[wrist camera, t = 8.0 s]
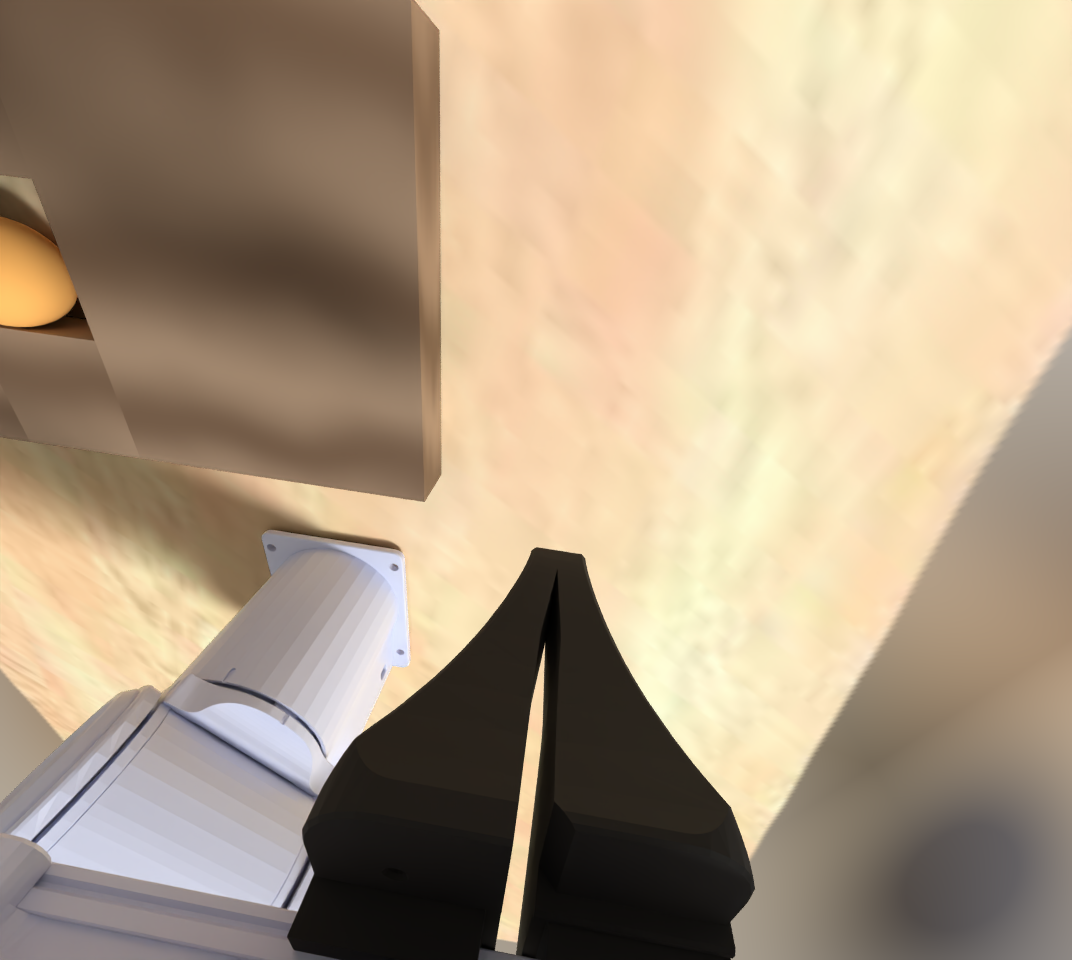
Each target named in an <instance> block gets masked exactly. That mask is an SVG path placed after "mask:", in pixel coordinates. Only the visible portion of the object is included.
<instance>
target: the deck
mask: <svg viewBox="0 0 1072 960" xmlns="http://www.w3.org/2000/svg"><path fill="white" fill-rule="evenodd" d="M0 175H6V176H14V177H22V178H30V179H32V180H33V183H34V185H35V188H36V190H37V193H38V195H39V198H40V201H41V203H42V206H43V208H44V211H45V214H46V216H47V219H48V221H49V224H50V226H51V229H52V232H53V234H54V237H55V239H56V242H57V245H58V247H59V250H60V252H61V255H62V257H63V260H64V263H65V265H66V268H67V270H68V273H69V276H70V278H71V281H72V283H73V286H74V288H75V291H76V294H77V296H78V299H79V301H80V304H81V307H82V309H83V312H84V314H85V317H86V319H87V320H86V319H79V318H71V317H64V316H63V317H62V318H60V319H58V320H56V321H54V322H52V323H49V324H45V325H41V326H34V327H14V326H5V325H1V324H0V437H3V438H9V439H16V440H23V441H29V442H36V443H42V444H49V445H55V446H62V447H68V448H75V449H82V450H88V451H95V452H101V453H108V454H114V455H121V456H127V457H134V458H140V459H147V460H154V461H160V462H167V463H173V464H180V465H186V466H193V467H199V468H206V469H213V470H219V471H226V472H232V473H239V474H245V475H252V476H258V477H265V478H271V479H278V480H285V481H291V482H298V483H304V484H311V485H317V486H324V487H330V488H337V489H344V490H350V491H357V492H363V493H370V494H376V495H383V496H389V497H396V498H403V499H409V500H416V501H422V502H425V500H426V499H427V497H428V495H429V494H430V492H431V490H432V489H433V487H434V486H435V484H436V482H437V481H438V479H439V477H440V476H441V310H440V88H439V30H438V28H437V27H436V26H435V25H434V24H433V22H432V21H431V20H430V19H429V17H428V16H427V15H426V14H425V13H424V11H423V10H422V9H421V8H420V7H419V5H418V4H417V3H416V2H415V0H0Z"/></svg>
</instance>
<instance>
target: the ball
mask: <svg viewBox="0 0 1072 960" xmlns="http://www.w3.org/2000/svg"><path fill="white" fill-rule="evenodd" d="M76 300H77V294H76V291H75V288H74V286H73V283H72V281H71V278H70V276H69V273H68V270H67V268H66V265H65V263H64V260H63V257H62V255H61V252H60V250H59V248H58V247H57V246H56V245H55V244H54V243H53V242H51V241H50V240H49V239H47V238H46V237H45V236H43V235H42V234H40V233H39V232H37V231H36V230H34V229H32V228H30V227H28V226H26V225H24V224H22V223H19V222H17V221H14V220H11V219H8V218H5V217H1V216H0V324H1V325H5V326H14V327H34V326H41V325H45V324H49V323H52V322H54V321H56V320H58V319H60V318H62V317H63V316H64V315H66V314H67V313H68V312H69V311H70V310H71V309H72V307H73V306H74V304H75V302H76Z"/></svg>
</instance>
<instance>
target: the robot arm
mask: <svg viewBox="0 0 1072 960" xmlns="http://www.w3.org/2000/svg"><path fill="white" fill-rule="evenodd" d="M262 542H263V546H264V550H265V554H266V558H267V562H268V565H269V569H270V573H271V577H270V578H269V579H268V580H267V581H266V583H265V584H264V585H263V586H262V587H261V588H260V589H259V590H258V591H257V592H256V593H255V595H254V596H253V597H252V598H251V599H250V600H249V601H248V602H247V603H246V604H245V605H244V607H243V608H242V609H241V610H240V611H239V612H238V613H237V614H236V615H235V616H234V617H233V619H232V620H231V621H230V622H229V623H228V624H227V625H226V626H225V627H224V628H223V629H222V631H221V632H220V633H219V634H218V635H217V636H216V637H215V638H214V639H213V640H212V641H211V643H210V644H209V645H208V646H207V647H206V648H205V649H204V650H203V651H202V652H201V653H200V655H199V656H198V657H197V658H196V659H195V660H194V661H193V662H192V663H191V664H190V665H189V667H188V668H187V669H186V670H185V671H184V672H183V673H182V674H181V675H180V676H179V677H178V679H177V680H176V681H175V682H174V683H173V684H172V685H171V686H170V687H169V688H167V689H166V690H164V691H163V692H162V693H161V692H160V691H158V690H157V689H156V688H154V687H153V686H151V685H146V686H143V687H141V688H140V689H133V690H128V691H124V692H120V693H119V694H117V695H116V696H115V697H113V698H112V699H111V700H110V701H108V702H107V703H106V704H105V705H104V706H103V707H101V708H100V709H99V710H98V711H97V712H96V713H95V714H93V715H92V716H91V717H90V718H89V719H88V720H87V721H86V722H85V723H83V724H82V725H81V726H80V727H79V728H78V729H77V730H76V731H75V732H74V733H73V734H72V735H70V736H69V737H68V738H67V739H66V740H65V741H64V742H63V743H62V744H61V745H60V746H59V747H58V748H57V749H56V750H54V751H53V752H52V753H51V754H50V755H49V756H48V757H47V758H46V759H45V760H44V761H43V762H42V763H41V764H40V765H39V766H38V767H37V768H36V769H35V770H33V771H32V772H31V773H30V774H29V775H28V776H27V777H26V778H25V779H24V780H23V781H22V782H21V783H20V784H19V785H18V786H17V787H16V788H15V789H14V790H13V791H12V792H11V793H10V794H9V795H8V796H7V797H6V798H5V799H4V800H3V801H2V802H1V803H0V960H731V959H730V958H733V957H734V956H735V944H734V939H733V934H732V928H731V924H730V922H731V920H732V919H733V918H734V917H735V916H736V915H737V914H738V913H739V911H740V910H741V909H742V908H743V907H744V906H745V905H746V904H747V902H748V901H749V899H750V897H751V895H752V893H753V891H754V890H755V886H754V880H753V875H752V870H751V866H750V861H749V858H748V854H747V851H746V848H745V845H744V842H743V839H742V836H741V833H740V831H739V828H738V825H737V823H736V820H735V817H734V815H733V812H732V810H731V807H730V806H729V805H728V804H727V803H726V801H725V800H724V799H723V798H722V797H721V796H720V794H719V793H718V792H717V791H716V790H715V789H714V788H713V786H712V785H711V784H710V783H709V782H708V781H707V779H706V778H705V777H704V776H703V775H702V773H701V772H700V771H699V770H698V769H697V767H696V766H695V765H694V764H693V763H692V761H691V760H690V759H689V757H688V756H687V755H686V753H685V752H684V751H683V750H682V748H681V747H680V746H679V744H678V743H677V742H676V741H675V739H674V738H673V737H672V735H671V734H670V732H669V731H668V729H667V728H666V727H665V725H664V724H663V722H662V721H661V719H660V718H659V716H658V715H657V714H656V712H655V711H654V709H653V708H652V706H651V705H650V704H649V702H648V701H647V699H646V697H645V696H644V694H643V693H642V691H641V689H640V688H639V686H638V684H637V683H636V681H635V680H634V678H633V676H632V674H631V673H630V671H629V669H628V667H627V665H626V664H625V662H624V660H623V658H622V656H621V654H620V652H619V650H618V648H617V646H616V644H615V642H614V640H613V638H612V636H611V634H610V632H609V629H608V627H607V625H606V622H605V620H604V618H603V615H602V613H601V610H600V607H599V605H598V602H597V600H596V597H595V594H594V591H593V588H592V585H591V582H590V578H589V575H588V571H587V566H586V561H585V558H584V557H583V555H582V554H576V553H569V552H563V551H557V550H550V549H544V548H537V547H536V548H535V549H533V550H532V551H531V554H530V557H529V559H528V561H527V564H526V566H525V567H524V569H523V571H522V573H521V575H520V576H519V578H518V580H517V581H516V583H515V584H514V586H513V587H512V589H511V590H510V592H509V593H508V595H507V596H506V598H505V599H504V601H503V602H502V604H501V605H500V606H499V607H498V609H497V610H496V611H495V613H494V614H493V615H492V617H491V618H490V619H489V620H488V622H487V623H486V624H485V625H484V627H483V628H482V629H481V630H480V631H479V632H478V634H477V635H476V636H475V637H474V638H473V639H472V640H471V641H470V642H469V643H468V645H467V646H466V647H465V648H464V649H463V650H462V651H461V652H460V653H459V654H458V655H457V656H456V657H455V658H454V659H453V660H452V661H451V662H450V663H449V664H448V665H447V666H446V667H445V668H444V669H442V670H441V671H440V672H439V673H438V674H437V675H436V676H435V677H434V678H433V679H431V680H430V681H429V682H428V683H427V684H425V685H424V686H423V687H422V688H421V689H419V690H418V691H417V692H416V693H415V694H413V695H412V696H411V697H410V698H409V699H407V700H406V701H405V702H404V703H403V704H401V705H400V706H399V707H397V708H396V709H395V710H393V711H392V712H391V713H389V714H388V715H386V716H385V717H384V718H382V719H381V720H379V721H378V722H377V723H375V724H374V725H373V726H371V727H370V728H368V729H367V730H366V731H364V732H363V733H362V731H363V729H364V727H365V725H366V722H367V720H368V718H369V716H370V714H371V712H372V709H373V707H374V705H375V703H376V701H377V698H378V696H379V694H380V692H381V690H382V688H383V685H384V683H385V681H386V679H387V677H388V674H389V672H390V670H391V668H392V666H397V667H407V666H408V665H409V663H410V660H411V658H410V640H409V623H408V606H407V589H406V572H405V557H404V555H403V553H402V552H400V551H399V550H396V549H390V548H384V547H378V546H371V545H365V544H359V543H352V542H346V541H340V540H333V539H327V538H321V537H314V536H308V535H302V534H295V533H289V532H283V531H277V530H267V531H266V532H265V533H264V534H263V535H262ZM273 545H274V546H273ZM393 564H396V565H397V566H394V565H393ZM544 645H545V668H544V702H543V729H542V743H541V751H540V760H539V769H538V778H537V786H536V795H535V803H534V812H533V820H532V829H531V837H530V845H529V854H528V862H527V870H526V878H525V887H524V895H523V903H522V911H521V919H520V927H519V935H518V943H517V951H516V955H513V954H508V953H503V952H498V951H495V945H496V939H497V933H498V927H499V921H500V915H501V912H502V906H503V900H504V894H505V888H506V882H507V876H508V870H509V865H510V859H511V853H512V847H513V840H514V833H515V825H516V818H517V810H518V803H519V795H520V787H521V779H522V771H523V763H524V755H525V747H526V739H527V731H528V723H529V715H530V708H531V702H532V698H533V693H534V689H535V684H536V680H537V676H538V671H539V667H540V663H541V658H542V654H543V649H544Z"/></svg>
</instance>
